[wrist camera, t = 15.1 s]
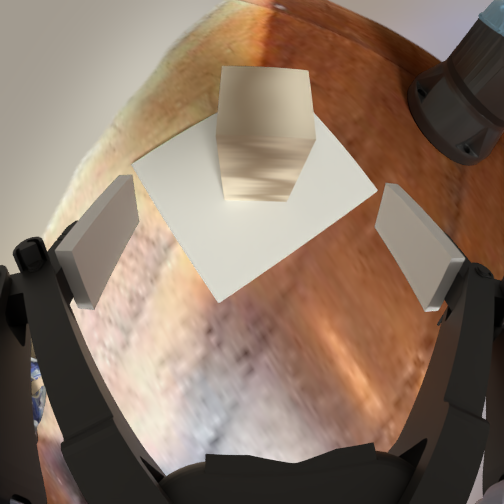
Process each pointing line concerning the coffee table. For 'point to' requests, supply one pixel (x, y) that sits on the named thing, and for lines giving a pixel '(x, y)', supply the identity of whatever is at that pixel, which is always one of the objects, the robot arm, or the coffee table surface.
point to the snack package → (37, 396)
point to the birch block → (263, 131)
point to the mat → (245, 205)
